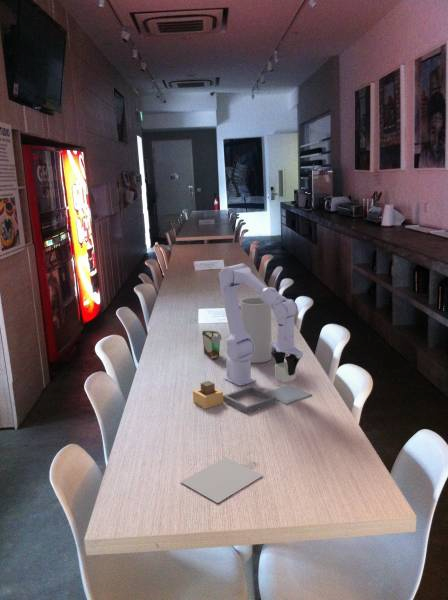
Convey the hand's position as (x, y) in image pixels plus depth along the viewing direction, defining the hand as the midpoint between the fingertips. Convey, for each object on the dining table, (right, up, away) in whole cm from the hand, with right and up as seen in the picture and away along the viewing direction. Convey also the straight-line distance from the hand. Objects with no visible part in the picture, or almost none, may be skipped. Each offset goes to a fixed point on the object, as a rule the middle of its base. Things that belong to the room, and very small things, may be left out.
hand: (286, 372), depth 196 cm
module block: (0, -2, 0) cm, 2 cm away
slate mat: (+1, -8, +2) cm, 8 cm away
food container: (-26, +1, +45) cm, 52 cm away
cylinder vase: (-8, 0, +40) cm, 40 cm away
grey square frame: (-13, -10, -3) cm, 16 cm away
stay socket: (-27, -10, -2) cm, 29 cm away
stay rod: (-27, -10, -2) cm, 29 cm away
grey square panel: (-23, -21, -43) cm, 53 cm away
